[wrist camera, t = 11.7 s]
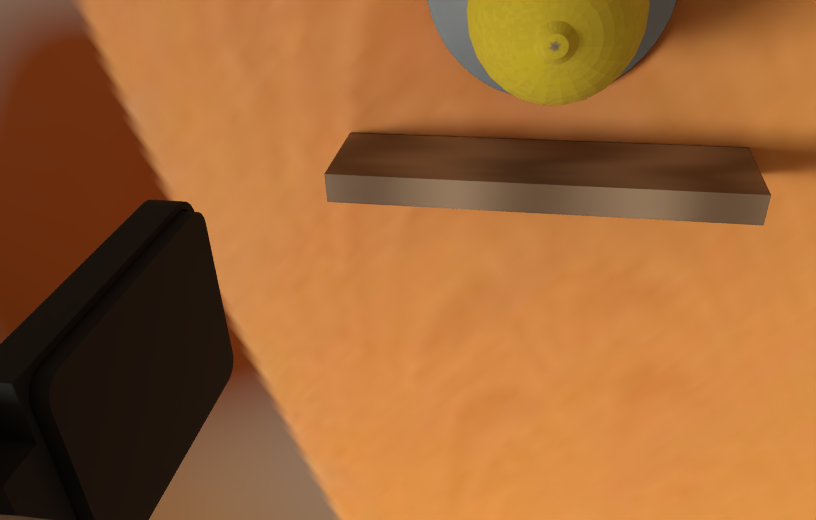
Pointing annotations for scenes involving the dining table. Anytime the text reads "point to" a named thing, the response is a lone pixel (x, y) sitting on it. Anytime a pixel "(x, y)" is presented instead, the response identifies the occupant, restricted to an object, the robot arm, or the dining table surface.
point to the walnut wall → (551, 177)
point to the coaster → (453, 29)
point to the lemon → (556, 44)
